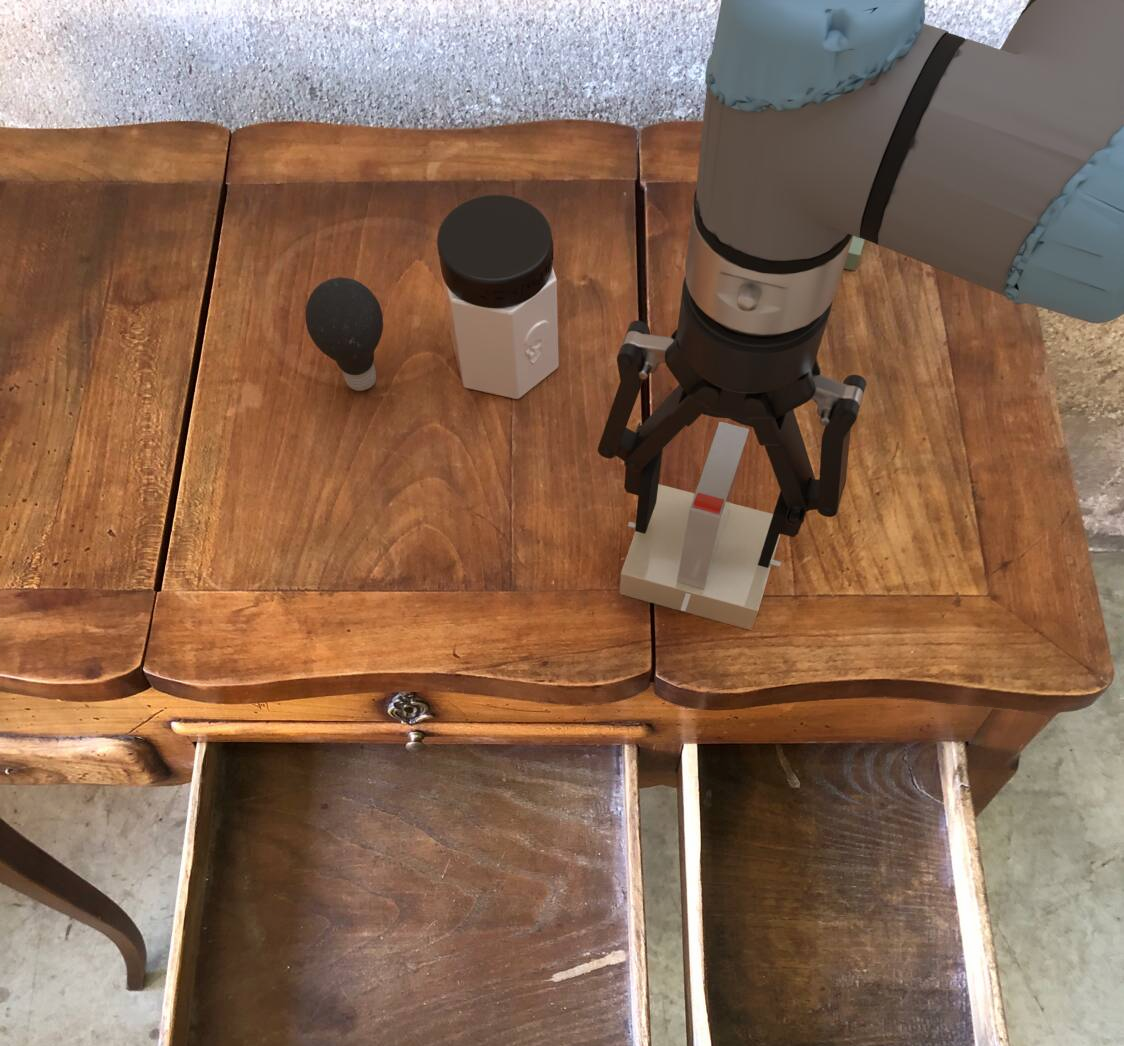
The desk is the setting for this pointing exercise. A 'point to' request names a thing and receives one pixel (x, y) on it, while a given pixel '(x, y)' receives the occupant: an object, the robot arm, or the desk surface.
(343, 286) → the light bulb
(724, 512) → the tap handle
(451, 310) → the jar
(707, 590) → the panel
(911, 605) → the desk surface
